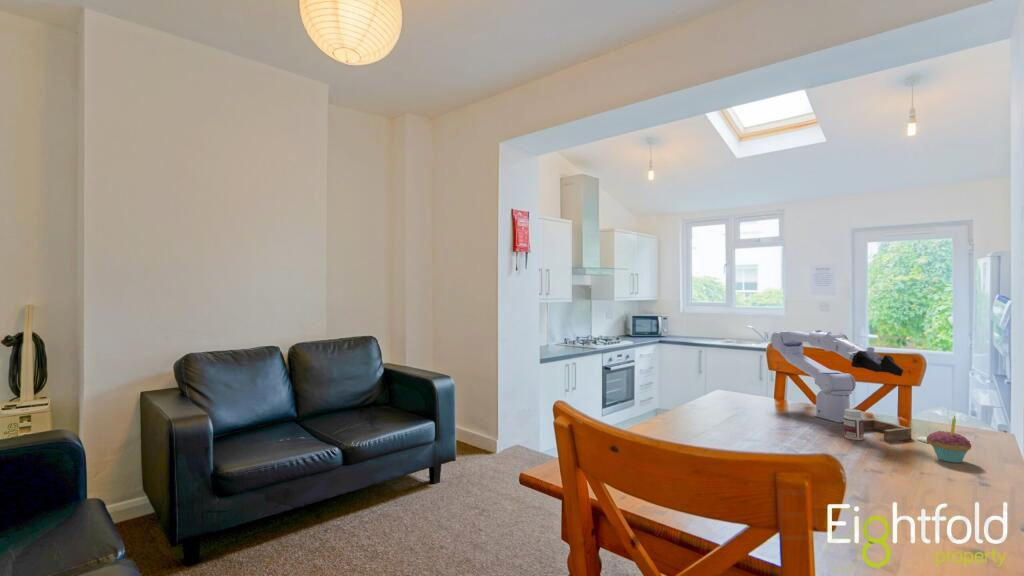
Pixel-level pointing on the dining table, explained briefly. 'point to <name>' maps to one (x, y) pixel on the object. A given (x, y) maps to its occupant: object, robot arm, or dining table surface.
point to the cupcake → (949, 445)
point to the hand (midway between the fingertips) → (890, 371)
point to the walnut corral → (888, 429)
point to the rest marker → (922, 439)
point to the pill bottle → (853, 424)
